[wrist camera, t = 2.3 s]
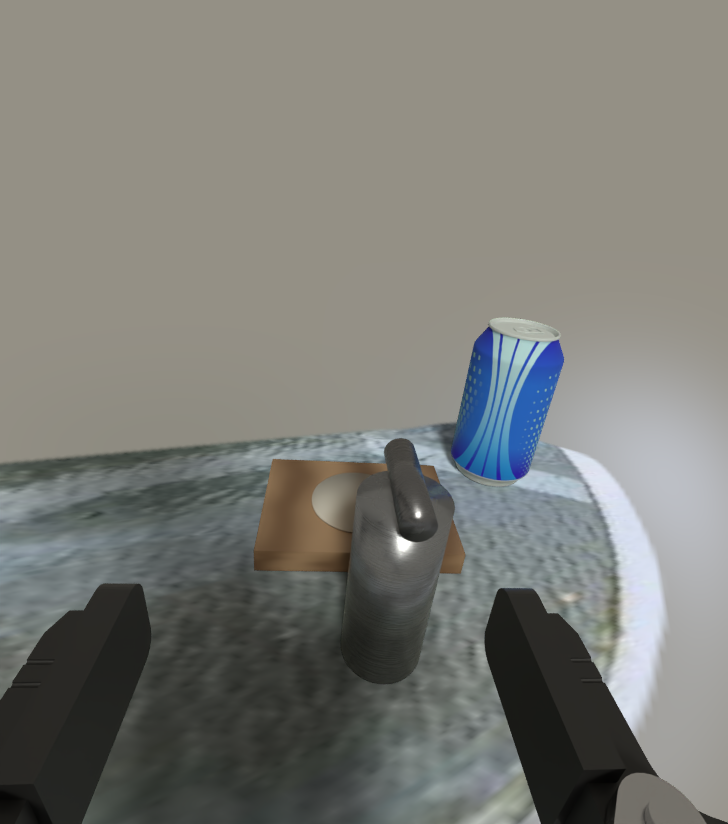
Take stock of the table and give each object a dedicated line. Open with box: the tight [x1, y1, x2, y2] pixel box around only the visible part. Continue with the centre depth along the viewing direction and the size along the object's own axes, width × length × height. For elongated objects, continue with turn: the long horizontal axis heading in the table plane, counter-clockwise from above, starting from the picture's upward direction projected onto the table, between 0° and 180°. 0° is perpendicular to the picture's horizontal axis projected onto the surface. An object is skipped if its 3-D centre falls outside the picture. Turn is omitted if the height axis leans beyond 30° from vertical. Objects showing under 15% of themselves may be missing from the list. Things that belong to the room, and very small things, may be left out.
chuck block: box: [254, 459, 465, 574], centre depth 39 cm, size 16×12×2 cm
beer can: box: [451, 318, 564, 487], centre depth 45 cm, size 8×8×16 cm
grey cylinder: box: [341, 438, 455, 684], centre depth 26 cm, size 5×6×14 cm
